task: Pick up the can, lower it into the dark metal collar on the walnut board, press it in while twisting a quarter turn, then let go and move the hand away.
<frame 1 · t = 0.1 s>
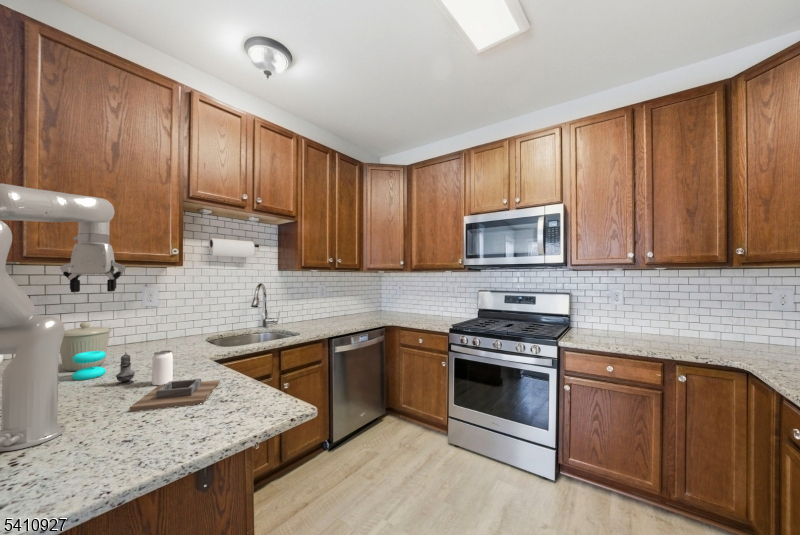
hand: (93, 291, 106), 37 cm above the worktop, tool pointing down, fingers open, 9 cm apart
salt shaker: (125, 383, 124), on the worktop
donuts: (89, 377, 132), on the worktop
can: (162, 383, 124), on the worktop
canister: (84, 368, 146), on the worktop
socket board: (179, 396, 110), on the worktop
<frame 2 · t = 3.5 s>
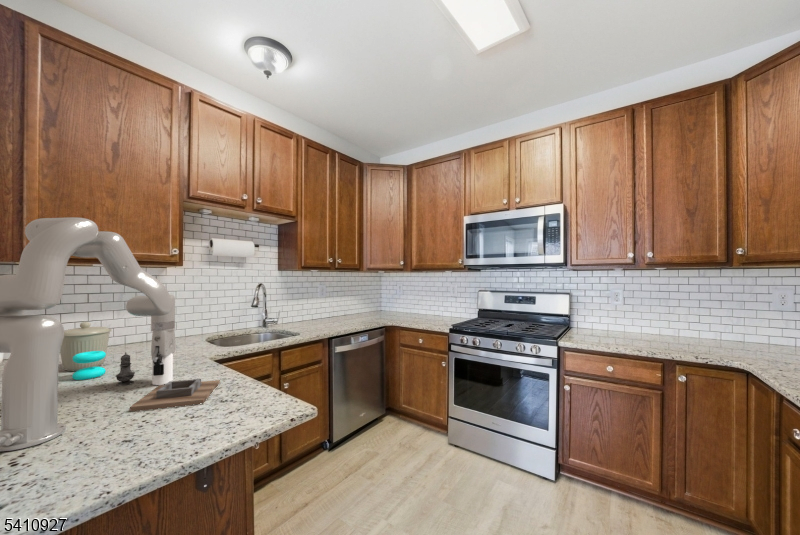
hand: (162, 372, 124), 4 cm above the worktop, tool pointing down, fingers closed on can, 6 cm apart
can: (162, 383, 124), on the worktop, touching gripper
everything else where it was.
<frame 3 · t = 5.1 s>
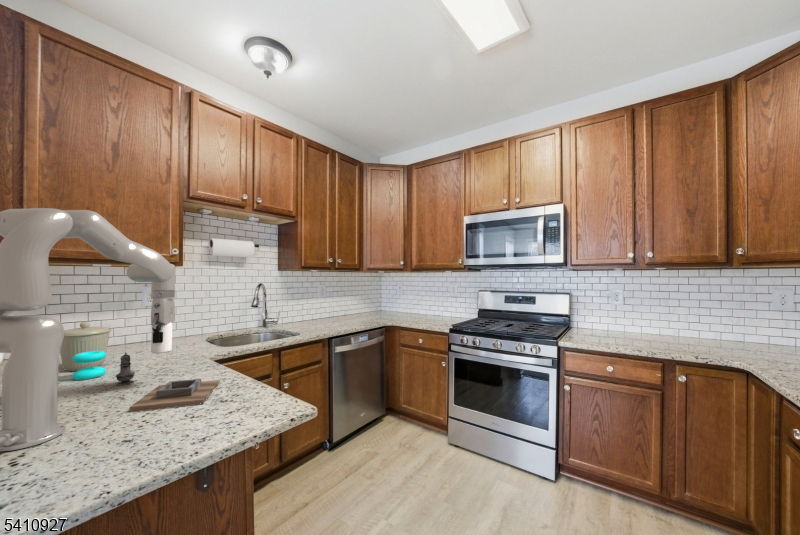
hand: (161, 340, 124), 17 cm above the worktop, tool pointing down, fingers closed on can, 6 cm apart
can: (161, 352, 124), point 12 cm above the worktop, touching gripper
everything else where it was.
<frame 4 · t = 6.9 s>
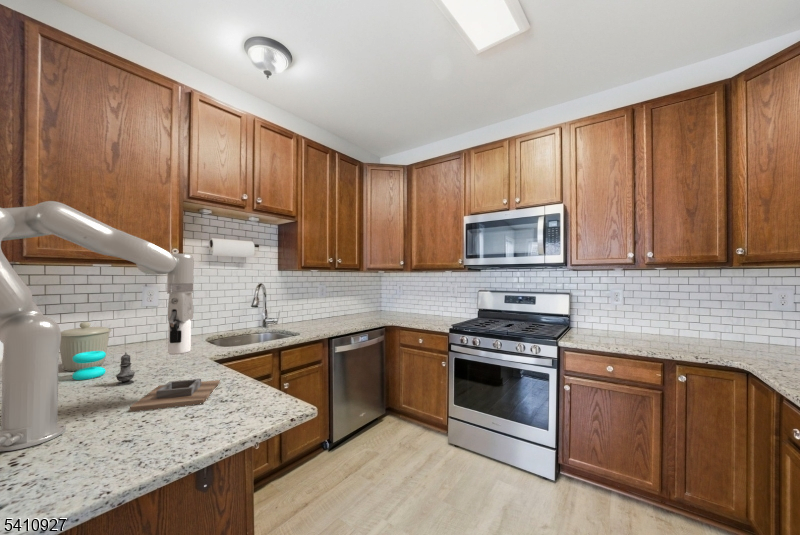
hand: (179, 340, 111), 19 cm above the worktop, tool pointing down, fingers closed on can, 6 cm apart
can: (179, 353, 111), point 15 cm above the worktop, touching gripper
everything else where it was.
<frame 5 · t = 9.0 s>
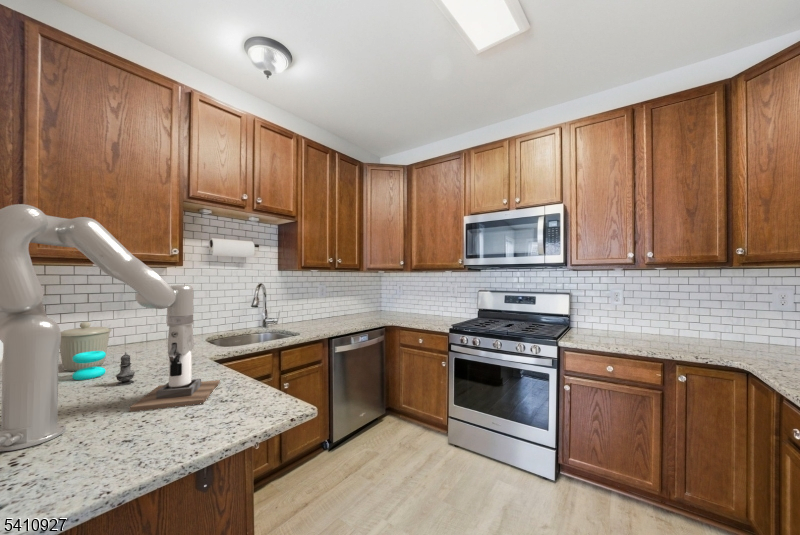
hand: (180, 372, 110), 8 cm above the worktop, tool pointing down, fingers closed on can, 6 cm apart
can: (180, 385, 110), point 4 cm above the worktop, touching gripper
everything else where it was.
when the fingers open (6 cm above the worktop, at t = 10.4 s): can stays where it is, resting on socket board.
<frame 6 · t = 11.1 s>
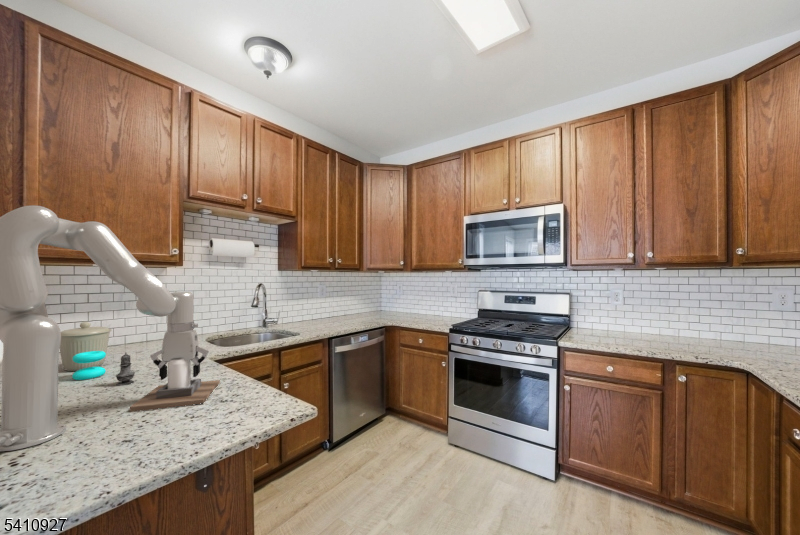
hand: (180, 377, 110), 7 cm above the worktop, tool pointing down, fingers open, 9 cm apart
can: (179, 392, 110), point 1 cm above the worktop, touching socket board
everything else where it was.
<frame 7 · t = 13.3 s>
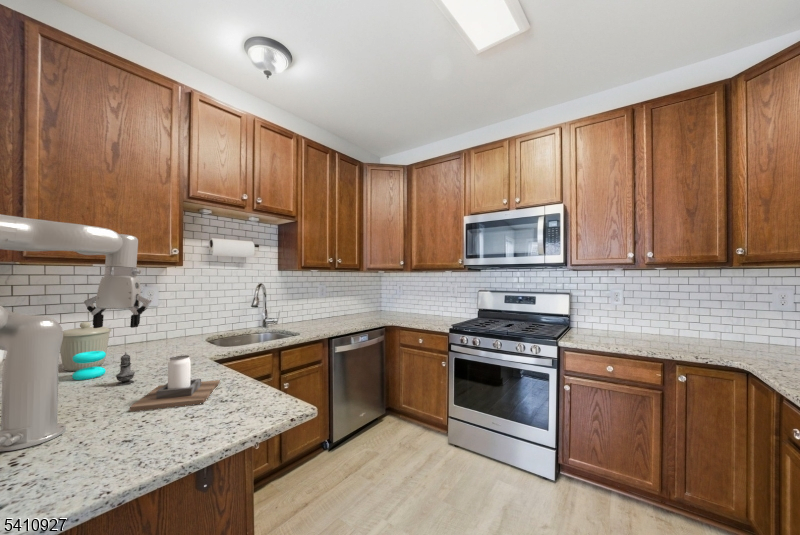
hand: (116, 327, 100), 26 cm above the worktop, tool pointing down, fingers open, 9 cm apart
nothing on the worktop moved.
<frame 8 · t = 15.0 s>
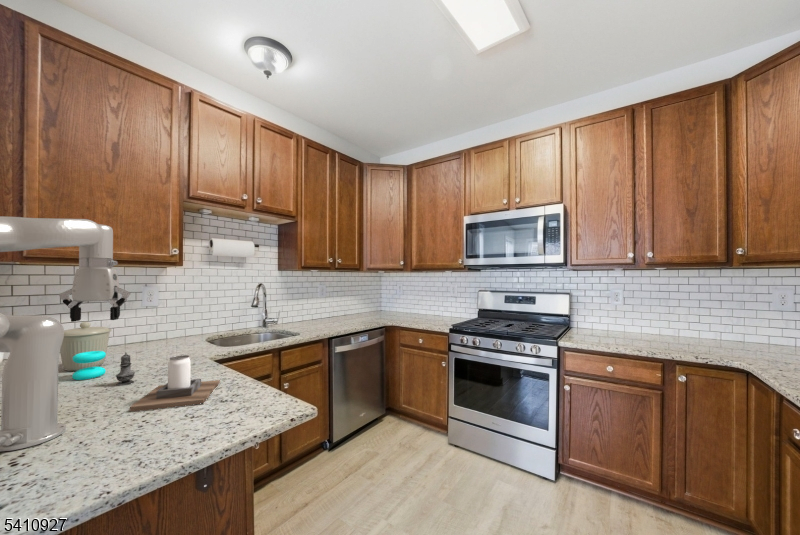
hand: (95, 320, 98), 28 cm above the worktop, tool pointing down, fingers open, 9 cm apart
nothing on the worktop moved.
at the end: can 0.2 cm off-centre on the socket board, point 1.3 cm above the socket board's base; can tilted 0°; the gripper is holding nothing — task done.
